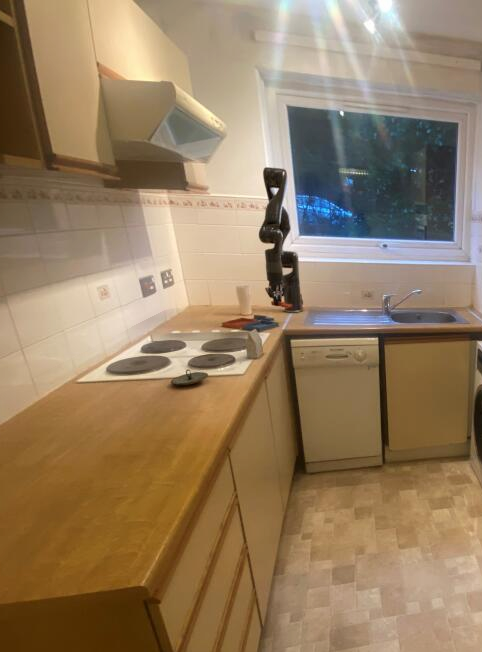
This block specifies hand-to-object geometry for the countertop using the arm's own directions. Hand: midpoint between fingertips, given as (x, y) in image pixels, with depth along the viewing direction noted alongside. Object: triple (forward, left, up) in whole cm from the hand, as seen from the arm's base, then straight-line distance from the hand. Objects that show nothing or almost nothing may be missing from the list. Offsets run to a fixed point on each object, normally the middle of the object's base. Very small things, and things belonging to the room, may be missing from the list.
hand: (278, 305), depth 221 cm
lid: (+84, +33, -9) cm, 91 cm away
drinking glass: (-6, -26, -9) cm, 28 cm away
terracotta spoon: (0, +2, 0) cm, 2 cm away
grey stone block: (+52, +30, -9) cm, 61 cm away
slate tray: (+15, +1, -8) cm, 17 cm away
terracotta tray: (+15, -11, -8) cm, 20 cm away
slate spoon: (0, -10, -8) cm, 13 cm away
